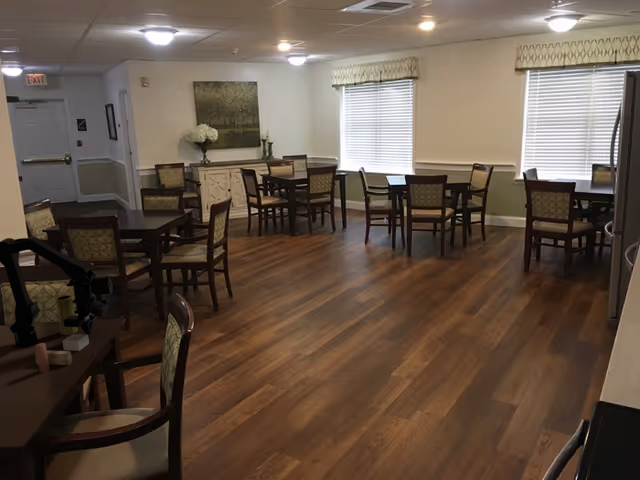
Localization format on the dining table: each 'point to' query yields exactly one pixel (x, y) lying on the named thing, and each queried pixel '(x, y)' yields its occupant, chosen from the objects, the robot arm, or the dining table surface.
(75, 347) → the socket block
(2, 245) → the robot arm
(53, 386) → the dining table surface
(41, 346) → the peg
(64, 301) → the olive ribbed cylinder
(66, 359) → the backstop
